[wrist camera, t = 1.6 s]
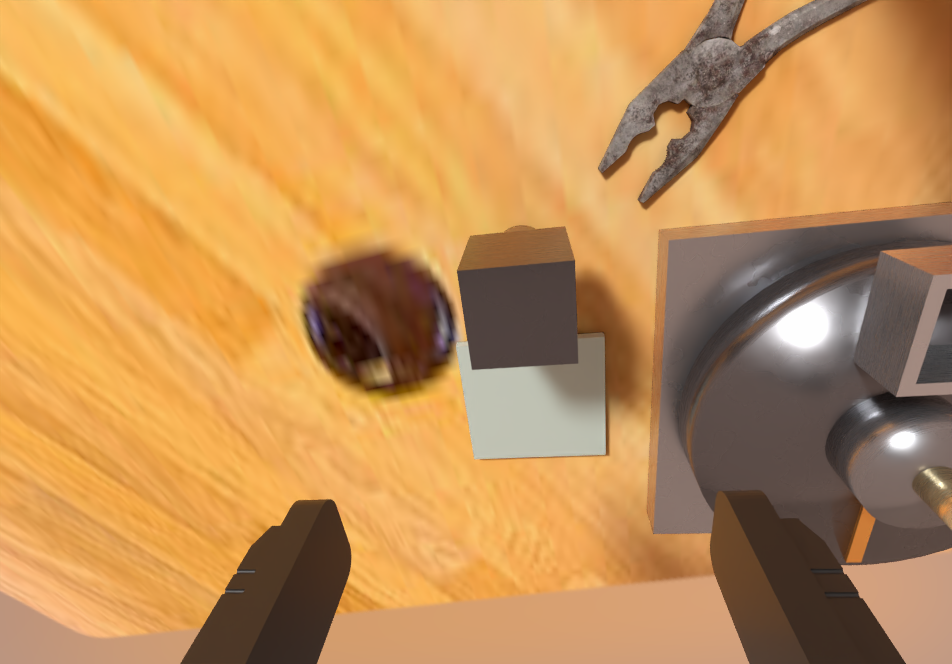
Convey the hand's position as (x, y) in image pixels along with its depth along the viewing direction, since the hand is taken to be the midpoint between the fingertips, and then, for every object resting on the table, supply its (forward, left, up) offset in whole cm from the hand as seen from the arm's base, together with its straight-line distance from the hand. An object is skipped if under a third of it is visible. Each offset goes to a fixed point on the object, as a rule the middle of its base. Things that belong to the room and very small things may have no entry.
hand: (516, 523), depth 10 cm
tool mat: (+10, 0, -19) cm, 22 cm away
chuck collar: (+10, +18, -17) cm, 26 cm away
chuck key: (0, 0, -19) cm, 19 cm away
